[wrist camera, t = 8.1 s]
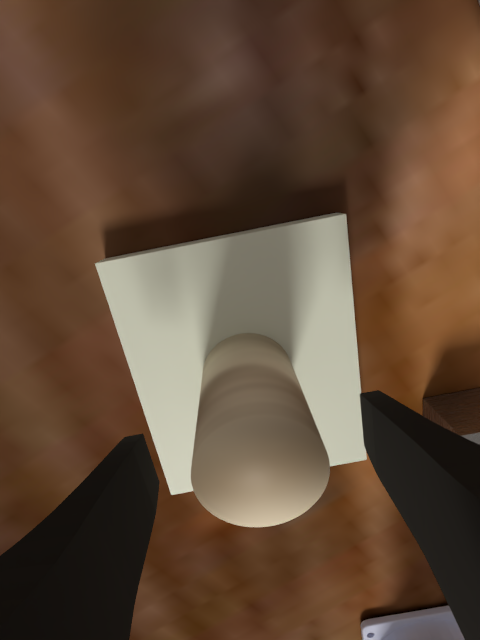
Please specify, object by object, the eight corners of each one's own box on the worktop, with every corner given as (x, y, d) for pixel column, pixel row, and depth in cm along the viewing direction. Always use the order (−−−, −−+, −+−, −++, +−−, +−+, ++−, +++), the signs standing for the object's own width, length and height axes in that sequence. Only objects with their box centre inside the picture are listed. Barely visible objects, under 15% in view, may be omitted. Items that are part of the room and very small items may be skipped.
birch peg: (299, 401, 16) (339, 511, 11) (216, 421, 16) (212, 539, 11) (282, 323, 15) (317, 401, 9) (191, 345, 15) (172, 434, 9)
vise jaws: (475, 508, 21) (515, 557, 18) (424, 516, 21) (456, 567, 18) (481, 387, 18) (529, 423, 15) (422, 398, 18) (459, 436, 15)
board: (358, 443, 19) (366, 459, 18) (174, 477, 19) (171, 494, 18) (336, 212, 15) (345, 213, 14) (104, 258, 15) (95, 263, 14)
